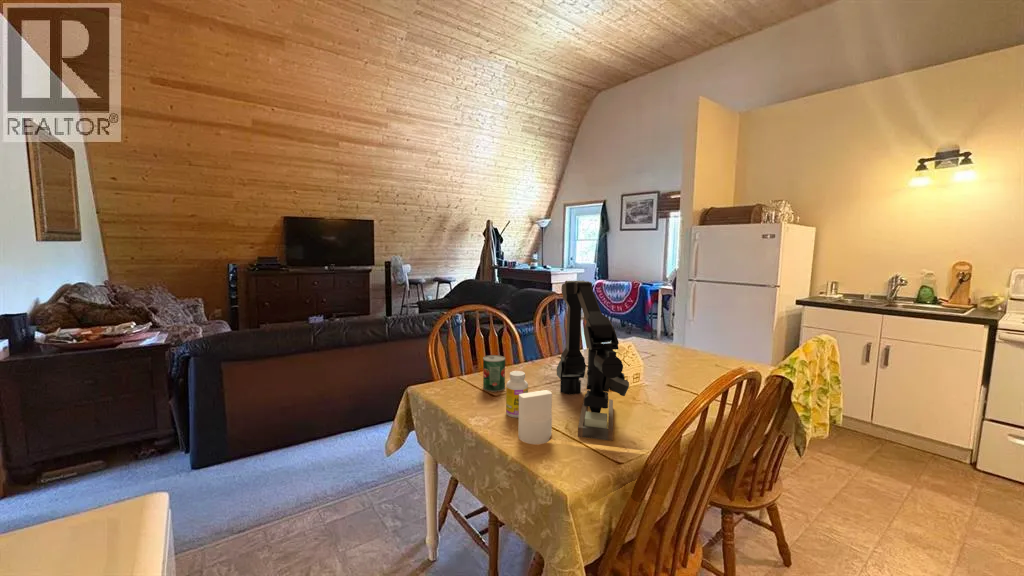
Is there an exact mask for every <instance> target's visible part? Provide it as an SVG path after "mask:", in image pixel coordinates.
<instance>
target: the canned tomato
mask: <svg viewBox="0 0 1024 576" xmlns="http://www.w3.org/2000/svg"><path fill="white" fill-rule="evenodd" d="M482 361H483V362H482V366H483V368H482V370H483V371H482V374H483V376H482V377H483V378H482V380H483V381H482V383H483V384H482V385H483V386H482V387H483V390H484V391H486V392H490V391H491V392H493V393H495V392H497V391H498V392H502V391H504V390H505V389H506V357H505V356H502V355H498V354H497V355H496V354H491V355H490V354H489V355H485V356H483V357H482Z"/></svg>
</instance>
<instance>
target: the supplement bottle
mask: <svg viewBox="0 0 1024 576" xmlns="http://www.w3.org/2000/svg"><path fill="white" fill-rule="evenodd" d="M525 378H526V373H525V372H524V371H522V370H513V371H510V372H509V380H508V381H506V383H505V389H506V391H505V392H506V393H505V397H506V398H505V413H506V415H507V416H508V417H511V418H518V419H519V394H522V393H529V383H528V382H527V381H526V380H525Z"/></svg>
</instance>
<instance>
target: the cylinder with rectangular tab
mask: <svg viewBox="0 0 1024 576" xmlns="http://www.w3.org/2000/svg"><path fill="white" fill-rule="evenodd" d="M552 403H553V393H552V391H550V390H549V389H545V390H543V389H541V390H536V391H530V392H529V391H528V393H522V394H519V418H518V422H517V423H518V427H517V428H518V433H517V434H518V440H520V441H521V442H523V443H526V444H529V445H543V444H546V443H549V442H550V441H551V440H552V438H551V437H552V430H553V429H552V427H553V425H552V424H553V415H552V414H553V412H552V407H553V404H552Z"/></svg>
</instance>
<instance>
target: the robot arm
mask: <svg viewBox="0 0 1024 576" xmlns="http://www.w3.org/2000/svg"><path fill="white" fill-rule="evenodd" d="M561 295H562V298H563V301H564V303H565V304H566V306H567V307H566V308H567V309H566V313H567V314H566V335H565V337H566V340H565V348H564V350H562V351H563V352H561V355H560V360H559V362H558V364H557V366H556V376H557V377H558V379H560V387H559V388H560V391H559V393H563V394H565V395H581V392H582V380H581V378H582V379H584V378H585V374H586V375H587V377H586V378H587V381H586V393H585V394H584V397H583V399H584V406H586V407H587V408H589V410H590V412H597V413H601V411H602V409H604V410H605V409H609V392H610V391H611V392H614V393H617V394H619V396H622V397H625V396H626V395H627V392H628V389H629V387H630V382H629V381H628V379H625V373H623V369H624V364H623V362H622V360H621V358H619V357H618V356H617V352H616V350H617V351H618V350H619V344H620V343H619V339H618V336H617V333H616V330H615V328H614V325H613V324H612V322H611V320H610V319H609V318H608V317H607V316H606V315H604V314H603V313H602V311H601V309H600V305H599V303H598V301H597V298H596V295H595V292H594V290H593V283H592V282H591V281H590V280H589V281H586V280H565V282H564V283H562V284H561ZM582 313H583V315H584V318H585V326H584V333H583V334H584V338H585V341H586V343H587V347H588V351H587V353H588V354H587V365H586V362H585V361H586V360H585V359H586V358H585V357H584V355H583V354H582V352H581V332H582V331H581V329H582V327H581V326H582ZM586 368H587V369H586Z"/></svg>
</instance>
